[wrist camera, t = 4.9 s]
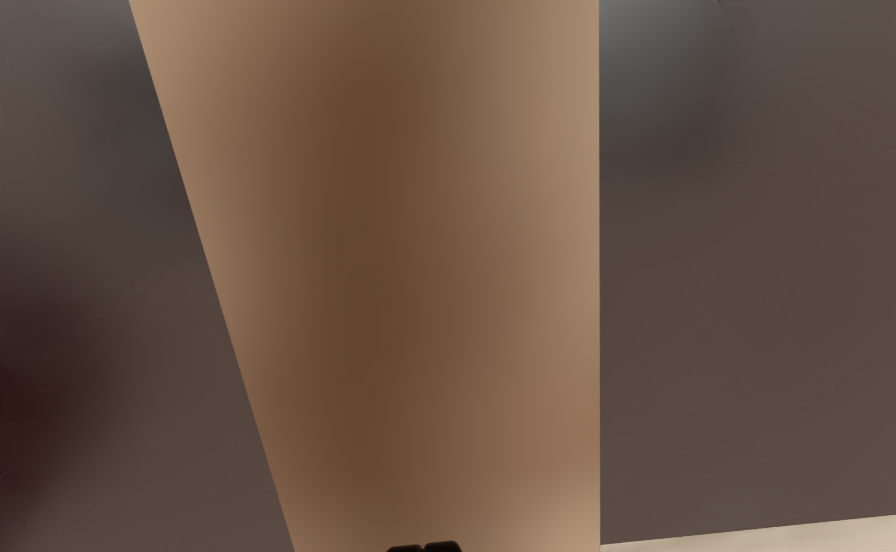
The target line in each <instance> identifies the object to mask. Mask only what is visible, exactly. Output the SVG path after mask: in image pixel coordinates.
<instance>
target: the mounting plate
mask: <svg viewBox="0 0 896 552" xmlns="http://www.w3.org/2000/svg"><path fill="white" fill-rule="evenodd" d="M599 279H600V545H603V544H613V543H623V542H633V541H642V540H652V539H662V538H672V537H682V536H691V535H701V534H711V533H721V532H730V531H740V530H750V529H760V528H770V527H779V526H789V525H799V524H809V523H818V522H828V521H838V520H848V519H857V518H867V517H877V516H887V515H896V0H599ZM0 552H295V550H294V547H293V544H292V541H291V537H290V534H289V531H288V527H287V524H286V521H285V517H284V514H283V511H282V507H281V504H280V501H279V497H278V494H277V491H276V487H275V484H274V481H273V477H272V474H271V471H270V468H269V464H268V461H267V458H266V454H265V451H264V448H263V444H262V441H261V438H260V434H259V431H258V428H257V424H256V421H255V418H254V414H253V411H252V408H251V405H250V401H249V398H248V395H247V391H246V388H245V385H244V381H243V378H242V375H241V371H240V368H239V365H238V361H237V358H236V355H235V351H234V348H233V345H232V342H231V338H230V335H229V332H228V328H227V325H226V322H225V318H224V315H223V312H222V308H221V305H220V302H219V298H218V295H217V292H216V288H215V285H214V282H213V279H212V275H211V272H210V269H209V265H208V262H207V259H206V255H205V252H204V249H203V245H202V242H201V239H200V235H199V232H198V229H197V225H196V222H195V219H194V215H193V212H192V209H191V206H190V202H189V199H188V196H187V192H186V189H185V186H184V182H183V179H182V176H181V172H180V169H179V166H178V162H177V159H176V156H175V152H174V149H173V146H172V143H171V139H170V136H169V133H168V129H167V126H166V123H165V119H164V116H163V113H162V109H161V106H160V103H159V99H158V96H157V93H156V89H155V86H154V83H153V80H152V76H151V73H150V70H149V66H148V63H147V60H146V56H145V53H144V50H143V46H142V43H141V40H140V36H139V33H138V30H137V26H136V23H135V20H134V17H133V13H132V10H131V7H130V3H129V0H0Z"/></svg>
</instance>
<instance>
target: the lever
mask: <svg viewBox="0 0 896 552" xmlns="http://www.w3.org/2000/svg"><path fill="white" fill-rule="evenodd" d="M129 3H130V7H131V10H132V13H133V17H134V20H135V23H136V26H137V30H138V33H139V36H140V40H141V43H142V46H143V50H144V53H145V56H146V60H147V63H148V66H149V70H150V73H151V76H152V80H153V83H154V86H155V89H156V93H157V96H158V99H159V103H160V106H161V109H162V113H163V116H164V119H165V123H166V126H167V129H168V133H169V136H170V139H171V143H172V146H173V149H174V152H175V156H176V159H177V162H178V166H179V169H180V172H181V176H182V179H183V182H184V186H185V189H186V192H187V196H188V199H189V202H190V206H191V209H192V212H193V215H194V219H195V222H196V225H197V229H198V232H199V235H200V239H201V242H202V245H203V249H204V252H205V255H206V259H207V262H208V265H209V269H210V272H211V275H212V279H213V282H214V285H215V288H216V292H217V295H218V298H219V302H220V305H221V308H222V312H223V315H224V318H225V322H226V325H227V328H228V332H229V335H230V338H231V342H232V345H233V348H234V351H235V355H236V358H237V361H238V365H239V368H240V371H241V375H242V378H243V381H244V385H245V388H246V391H247V395H248V398H249V401H250V405H251V408H252V411H253V414H254V418H255V421H256V424H257V428H258V431H259V434H260V438H261V441H262V444H263V448H264V451H265V454H266V458H267V461H268V464H269V468H270V471H271V474H272V477H273V481H274V484H275V487H276V491H277V494H278V497H279V501H280V504H281V507H282V511H283V514H284V517H285V521H286V524H287V527H288V531H289V534H290V537H291V541H292V544H293V547H294V550H295V552H387V550H388V549H389V548H391V547H393V546H402V545H412V544H419V545H421V546H422V548H424V546H425V545H426V544H427V543H431V542H441V541H450V540H453V541H456V542H457V543H458V544H459V546H460V547H461V549H462V551H463V552H600V279H599V0H129Z"/></svg>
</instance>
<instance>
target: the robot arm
mask: <svg viewBox="0 0 896 552" xmlns="http://www.w3.org/2000/svg"><path fill="white" fill-rule="evenodd" d="M387 552H463V551H462V549H461V547H460V546H459V544H458V543H457V542H456V541H453V540H450V541H441V542H431V543H427V544H426V545H425V546H424V548H422V546H421V545H419V544H412V545H402V546H393V547H391V548H389V549H388V550H387Z"/></svg>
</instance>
